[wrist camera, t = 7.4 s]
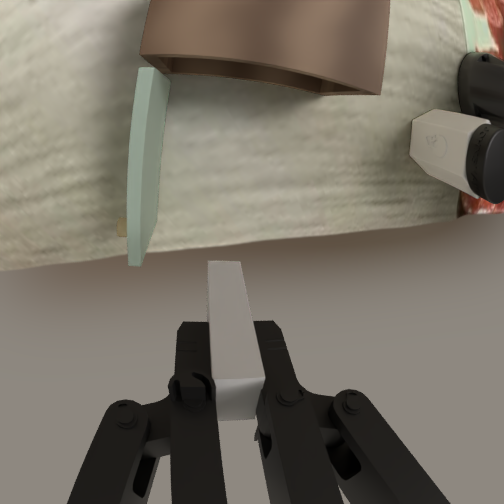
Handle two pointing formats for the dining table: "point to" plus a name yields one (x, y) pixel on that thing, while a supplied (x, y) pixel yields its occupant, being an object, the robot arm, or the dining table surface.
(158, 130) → the door
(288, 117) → the dining table surface
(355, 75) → the case
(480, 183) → the jar
